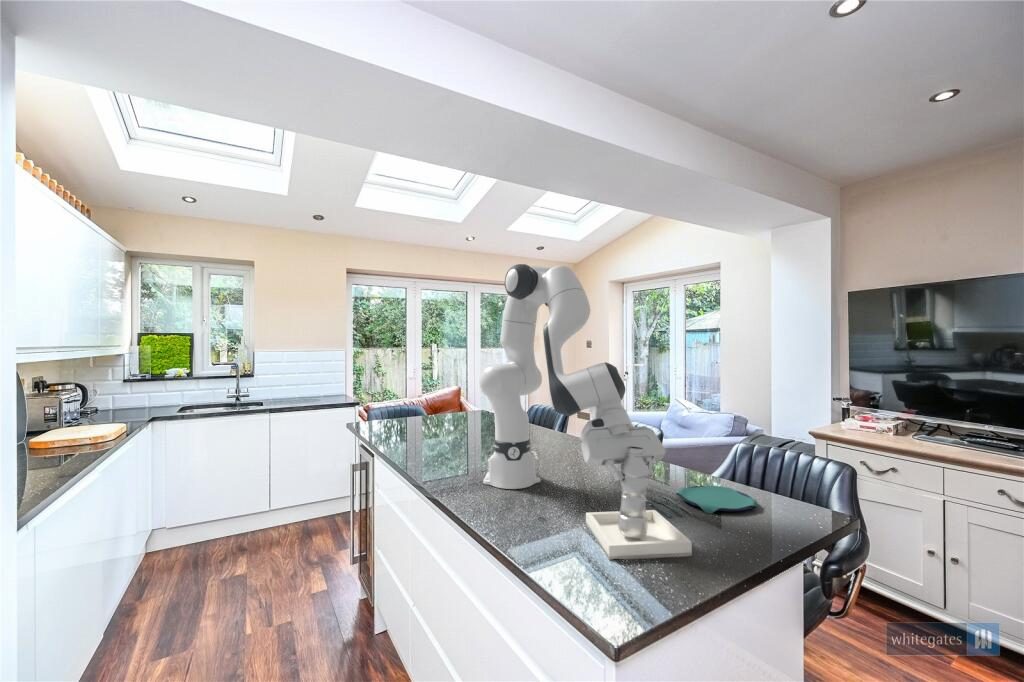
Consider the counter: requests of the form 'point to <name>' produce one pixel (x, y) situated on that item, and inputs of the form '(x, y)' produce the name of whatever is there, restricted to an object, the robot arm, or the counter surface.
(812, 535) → the counter surface
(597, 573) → the counter surface
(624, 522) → the plastic bottle
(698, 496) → the cutlery set
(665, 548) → the ceramic dish
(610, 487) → the counter surface
